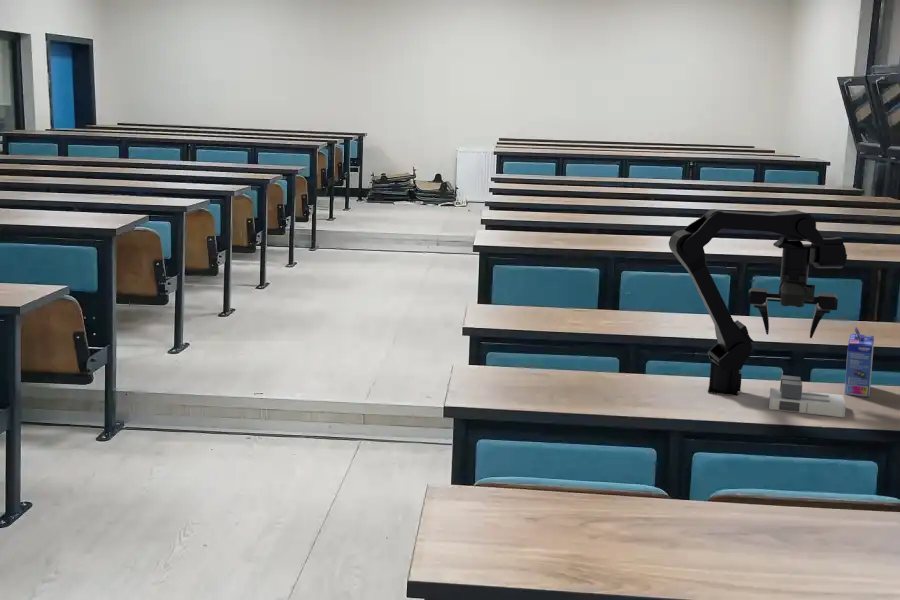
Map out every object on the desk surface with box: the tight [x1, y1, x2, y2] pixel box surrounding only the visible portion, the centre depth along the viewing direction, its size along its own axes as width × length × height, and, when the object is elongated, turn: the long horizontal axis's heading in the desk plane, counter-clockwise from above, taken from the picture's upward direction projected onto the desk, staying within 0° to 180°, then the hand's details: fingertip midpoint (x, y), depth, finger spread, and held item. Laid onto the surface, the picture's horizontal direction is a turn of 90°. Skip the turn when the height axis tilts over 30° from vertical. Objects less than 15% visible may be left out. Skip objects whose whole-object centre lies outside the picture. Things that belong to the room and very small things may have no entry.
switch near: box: [781, 380, 803, 399], centre depth 203 cm, size 4×3×3 cm
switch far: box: [779, 374, 802, 392], centre depth 207 cm, size 4×3×3 cm
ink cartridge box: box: [844, 326, 875, 398], centre depth 217 cm, size 10×6×14 cm, turn 155°
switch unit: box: [768, 387, 846, 418], centre depth 204 cm, size 15×8×3 cm, turn 71°
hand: (788, 336), depth 214 cm, fingers open, 9 cm apart
